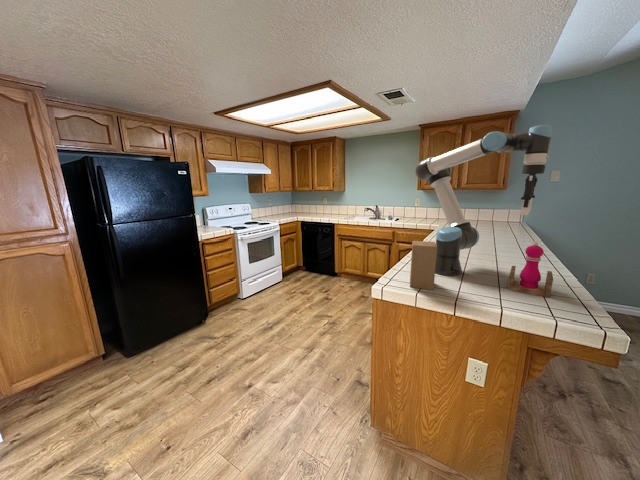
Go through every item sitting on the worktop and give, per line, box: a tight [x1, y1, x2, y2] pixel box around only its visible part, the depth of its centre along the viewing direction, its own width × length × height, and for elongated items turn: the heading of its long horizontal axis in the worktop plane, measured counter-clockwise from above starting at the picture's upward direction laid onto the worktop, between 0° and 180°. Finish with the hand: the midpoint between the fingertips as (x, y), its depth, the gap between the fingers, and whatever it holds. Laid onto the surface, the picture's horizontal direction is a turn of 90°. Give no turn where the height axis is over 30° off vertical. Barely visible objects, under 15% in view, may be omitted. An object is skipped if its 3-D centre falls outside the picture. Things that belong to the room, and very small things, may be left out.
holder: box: [507, 265, 554, 298], centre depth 113 cm, size 14×11×8 cm
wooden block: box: [409, 240, 437, 291], centre depth 118 cm, size 10×10×20 cm
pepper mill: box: [519, 241, 545, 289], centre depth 111 cm, size 7×7×20 cm
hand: (525, 213), depth 115 cm, fingers open, 13 cm apart
